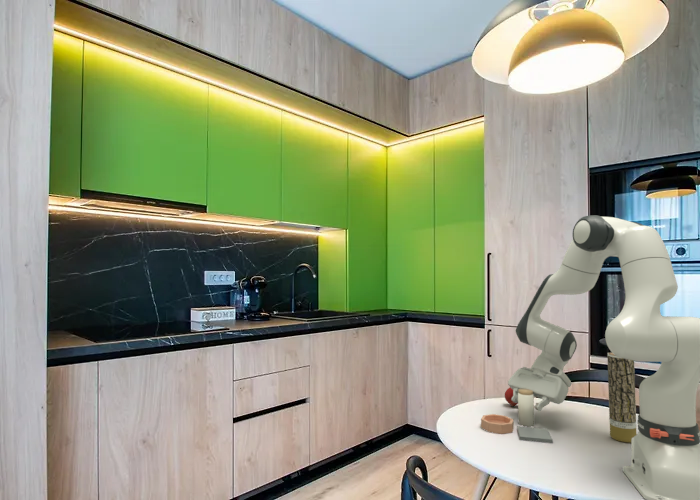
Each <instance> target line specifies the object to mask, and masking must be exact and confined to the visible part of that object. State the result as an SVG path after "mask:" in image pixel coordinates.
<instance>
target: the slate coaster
mask: <svg viewBox="0 0 700 500" xmlns="http://www.w3.org/2000/svg"><path fill="white" fill-rule="evenodd" d="M516 428H517V434H518V437H519V441H528V442H538V443H548V444H553V443H554V440H553V437H552V435H551V433H550V430H549V428H539V427H525V426H521V425H520V426H516Z"/></svg>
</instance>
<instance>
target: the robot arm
mask: <svg viewBox="0 0 700 500" xmlns="http://www.w3.org/2000/svg"><path fill="white" fill-rule="evenodd" d="M659 233H660V232H659V231H657V229H655V228H654V227H652V226H648V225H644V224H643V223H640V222H635V221H634V222H633V221H629V220H626V219H621V218H618V217H613V216H600V215H593V214H592V215H585V216H582V217H580V218H579V219H578V220H577V221H576V223H575V225H574V226H573V229H572V239H571V240H572V241H571V242H570V243H569V245H568V247H567V249H566V252H565V253H564V256H563V259H562V262H561V264H560V266H559V268H558V269H557V271H555V272H554V273H551V274H548V275H547V276H545V278H544V279H543V281H542V282H541V284H540V286H539V287H538V289H537V291H536V293H535V294H534V296H533V298H532V299H531V301H530V304H528V307H527V309H526V311H525V313H524V314H523V316H521V318H520V320H519V322H518V323H517V325H516V327H515V328H516V329H515V333H516V337H517V338H518V340H519V342H521V343H522V344H526V345H528V346H531V347H534V348H535V349H538V350H541V353H540V354H539V355H538V356H537V357H536V359H535V360H534V362H533V363H532V365H531V367H526V366H522V367H521V368H518V369H517V370H516V371H515V372H514V373H513V374H512V376H510V378H509V379H508V380H507V384H508V387H510V388H511V389H512V390H513V397H512V399H511V400H512V401H513V402H515V403H518V392H519V389H522V388H524V389H530V390H533V394H534V398H537V399H540V400H541V401H539V402H536V403H534V410H536V411H538V412H541V411H542V409H543V408H544V407H546V406H548V405H550V403H554V404H557V405H560V404H562V403H563V402H564V401H565V399H566V397H567V395H568V393H569V388H570V387H571V385H573V384H572V382H571V380H570V378H569V377H568V375H567V374H565V372H564V371H563V370H564V367H565V366H566V365H567V364H568V363H569V361H570V360H571V359H572V357H573V355H574V354H575V352H576V350H577V345H578V343H577V339H576V337H575V336H574V334H573V332H571V331H570V330H568V329H565V328H564V327H561V326H558V325H555V324H553V323H551V322H548V321H546V320H544V319H543V318H541V314H542V312H543V311H544V309H545V307H546V305H547V303H548V301H549V300H550V298H551V297H552V296H557V295H561V296H563V295H565V296H566V295H567V296H568V295H569V296H572V295H573V296H574V295H576V296H577V295H581V294H585V293H587V292H589V291H591V290H592V289H594V287H595V286H596V283H597V281H598V279H599V276H600V273H601V271H602V267H603V264H604V262H605V260H606V259H608V258H609V257H616V259H617V258H618V260H619V265H620V271H621V275H622V278H623V279H622V280H623V283H624V284H623V285H624V293H625V301H624V305H623V307H622V309H621V311H620V313H618V315H617V316H616V317H615V318H613V319H612V320H611V321H609V323H608V324H607V326H606V330H605V334H604V337H605V343H606V346H607V347H608V349H609V351H610V353H613V354H614V355H615V356H617V357H619V358H624V359H628V360H633V361H634V362H650V363H655V362H656V363H657V362H658V363H659V362H660V363H661V364H660V366H659V368H658V369H657V371H656V372H655V373H653V374H651V375H649V376H647V377H645V378H644V379H642V380H641V382H640V384H639V387H638V400H639V403H638V404H639V414H638V415H637V419H636V424H637V430H638V433H637V435H636V436H634V437H633V438H632V440H631V443H630V444H631V446H630V447H631V448H630V449H631V455H630V457H631V458H630V459H631V460H630V463H631V464H630V465H625V466H623V469H622V472H623V473H624V474H625V476H627V478H628V479H629V481H630V482H631V484H632V485H633V486H634V487H635V488H636V490H637V491H638V492H639V494H640V495H641V496H642V498H643V499H645V500H700V428H699V424H698V423H697V412H696V411H697V406H696V405H697V391H698V387H699V384H700V317H697V316H696V317H695V316H666V315H665V316H663V315H662V313H661V305H664V304H665V303H666V302H669V301H670V300H672V299H673V298H674V297H675V296H676V295H677V292H678V288H679V287H678V283H677V279H676V276H675V272H674V268H673V265H672V261H671V258H670V255H669V252H668V250H667V247H666V245H665V242H664V241H663V239H662V237H661V235H660V234H659Z"/></svg>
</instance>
